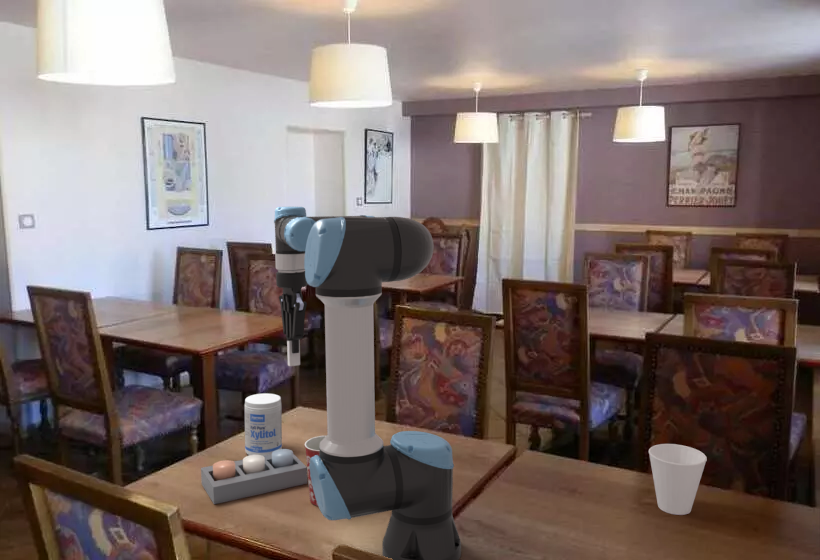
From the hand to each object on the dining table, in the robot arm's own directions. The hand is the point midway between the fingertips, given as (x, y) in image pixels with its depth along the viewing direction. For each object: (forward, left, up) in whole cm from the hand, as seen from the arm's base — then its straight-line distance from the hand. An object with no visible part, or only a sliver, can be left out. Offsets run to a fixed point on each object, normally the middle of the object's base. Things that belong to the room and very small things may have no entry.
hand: (293, 364), depth 170 cm
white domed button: (-5, +12, -23) cm, 27 cm away
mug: (-20, -1, -26) cm, 33 cm away
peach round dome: (-5, +19, -23) cm, 31 cm away
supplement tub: (+13, +4, -26) cm, 29 cm away
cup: (-62, -65, -26) cm, 94 cm away
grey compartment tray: (-5, +12, -26) cm, 29 cm away
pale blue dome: (-5, +5, -23) cm, 25 cm away
